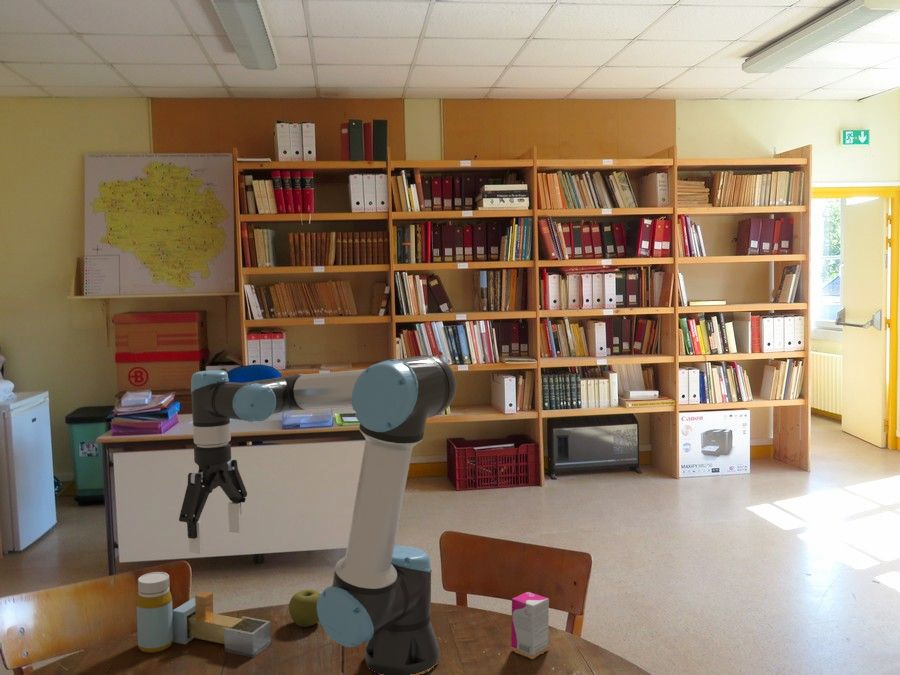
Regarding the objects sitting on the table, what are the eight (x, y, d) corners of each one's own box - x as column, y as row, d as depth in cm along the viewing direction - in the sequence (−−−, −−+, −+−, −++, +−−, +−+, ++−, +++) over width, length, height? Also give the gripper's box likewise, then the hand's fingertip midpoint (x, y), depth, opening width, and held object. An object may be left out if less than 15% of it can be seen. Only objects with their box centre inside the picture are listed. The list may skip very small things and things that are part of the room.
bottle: (161, 655, 162) (159, 585, 161) (131, 652, 164) (128, 582, 163) (179, 640, 169) (177, 572, 168) (150, 637, 171) (148, 570, 169)
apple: (322, 631, 173) (321, 600, 173) (285, 631, 173) (285, 600, 173) (327, 616, 181) (327, 586, 180) (293, 616, 181) (292, 586, 180)
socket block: (205, 630, 174) (205, 599, 173) (184, 644, 167) (183, 612, 167) (194, 628, 175) (193, 597, 174) (173, 641, 168) (172, 610, 168)
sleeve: (270, 644, 168) (270, 621, 167) (253, 657, 162) (252, 634, 161) (243, 638, 170) (242, 616, 170) (224, 651, 164) (224, 628, 164)
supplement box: (549, 650, 165) (550, 597, 164) (532, 660, 161) (532, 606, 160) (527, 641, 169) (527, 590, 168) (509, 651, 164) (510, 598, 163)
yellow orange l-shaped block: (243, 637, 168) (242, 596, 168) (232, 645, 165) (231, 604, 164) (194, 627, 173) (192, 587, 172) (181, 635, 169) (180, 594, 169)
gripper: (232, 431, 179) (236, 522, 181) (157, 455, 156) (162, 560, 158) (260, 433, 177) (264, 525, 178) (188, 457, 153) (193, 563, 155)
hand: (216, 542), depth 168 cm, fingers open, 13 cm apart
